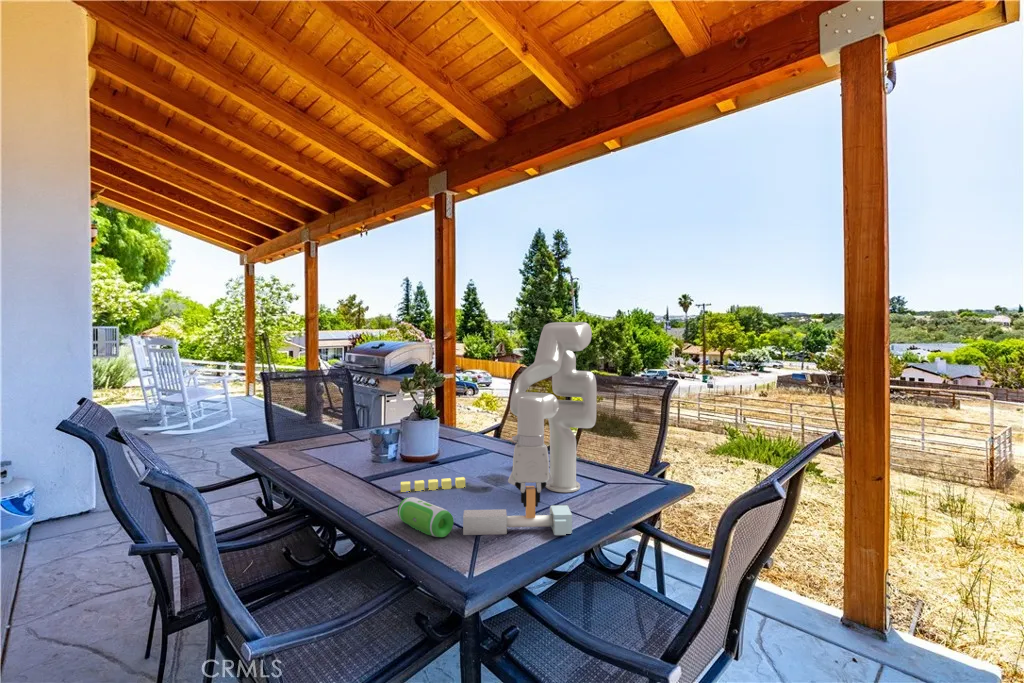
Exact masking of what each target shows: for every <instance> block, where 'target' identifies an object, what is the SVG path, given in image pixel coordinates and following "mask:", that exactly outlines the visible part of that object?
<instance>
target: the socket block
mask: <svg viewBox="0 0 1024 683" xmlns="http://www.w3.org/2000/svg"><path fill="white" fill-rule="evenodd" d="M549 515H553V526H551V527H550V528H551V530H552V533H553V535H554V536H567V535H566V534H571V533H572V534H573V513H572V512H571V509H570V508H569V505H566V504H565V505H550V507H549Z"/></svg>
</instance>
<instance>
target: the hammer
mask: <svg viewBox="0 0 1024 683" xmlns="http://www.w3.org/2000/svg"><path fill="white" fill-rule="evenodd" d="M535 488H536V485H525V489H526V507H525V515H507V528H538V527H539V528H543V527H545V528H547V527H548V528H549V527H550V528H552V527H551V526H553V515H550V514H547V515H545V514H542V515H540V514H538V515H537V514H536V506H535Z"/></svg>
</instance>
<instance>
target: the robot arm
mask: <svg viewBox="0 0 1024 683" xmlns="http://www.w3.org/2000/svg"><path fill="white" fill-rule="evenodd" d="M592 334H593V333H592V328H591V326H590V323H587V322H585V321H581V322H580V321H578V322H577V321H572V322H571V321H570V322H565V321H560V322H548V323H547V324H545V325H544V326H543V328H542V330H541V333H540V337H539V340H538V341H539V342H538V346H537V348H536V349H537V350H536V353H535V358H534V362H533V363H532V364H530V365H529V366H527V367H526V368H525V369H524V370H523V371H522V372H521V373H520V374H519V375H518V377H517V378H516V380H515V381H514V382H515V383H514V384H513V388H512V392H511V396H510V402H509V407H510V412H511V413H512V414H513V415H514V416H516V417H517V427H516V428H517V433H516V435H514V436H512V437H511V439H512V440H511V441H512V442H516V444H514V445H515V446H514V449H513V456H512V471H511V473H510V475H509V477H508V479H507V483H509V484H510V485H511V486H514V487H516V488H517V489H518V490H519V491H520V502H521V504H523V508H526V484H529V483H531V484H532V483H534V484H535V508H538V506H539V504H540V503H541V492H542V491H543V489H545V488H546V489H548V490H549V491H552V492H556V493H574V492H577V491H579V490H580V489H581V483H580V482H578V481H577V439H576V435H575V432H573V430H572V429H571V428H576V429H592V428H593V427H594V426H595V425H596V422H597V397H598V396H597V392H598V390H597V379H596V376H595V374H594V373H593V372H592V371H590V370H577V368H576V367H577V365H576V364H577V363H576V362H577V358H576V353H574V352H580V351H583V350H584V349H586V348H587V347H588V346H589V345H590V343H591V341H592V336H593V335H592ZM550 377H552V378H551V386H552V392H553V393H554V394H552V393H550V392H549V393H548V392H534V391H533V392H532V391H527V390H528V389H529V388H530V387H531V386H532V385H533V384H535V383H537V382H539V381H543V380H546V379H548V378H550ZM555 395H556V396H559V397H570V398H571V397H572V398H581V399H582V400H570V399H558V397H556V396H555ZM545 420H548V426H549V449H548V445H546V444H545Z"/></svg>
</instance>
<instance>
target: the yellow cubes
mask: <svg viewBox="0 0 1024 683" xmlns="http://www.w3.org/2000/svg"><path fill="white" fill-rule="evenodd" d="M424 480H425V479H424ZM424 480H423V479H422V480H414V492H415V491H420V492H422V491H421V490H424V491H425V481H424ZM454 480H455V481H454V482H455V484H454V486H455V488H456V489H465V488H466V478H465V477H464V476H461V477H455V478H454ZM427 482H428V484H427V486H428V487H427V488H429V489H428V491H429V490H432V491H437V490H436V489H438V490H439V480H438V479H437V478H436V479H428V480H427ZM440 483H441V486H442V487H441V489H444V490H452V489H451V488H452V486H453V485H452V479H451V478H450V477H449V478H448V477H447V478H441V482H440ZM464 487H465V488H464ZM406 491H410V492H411V481H400V493H401V492H406Z"/></svg>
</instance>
